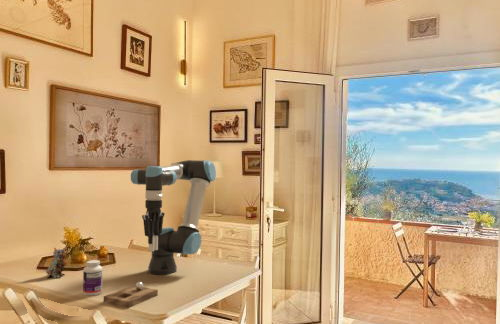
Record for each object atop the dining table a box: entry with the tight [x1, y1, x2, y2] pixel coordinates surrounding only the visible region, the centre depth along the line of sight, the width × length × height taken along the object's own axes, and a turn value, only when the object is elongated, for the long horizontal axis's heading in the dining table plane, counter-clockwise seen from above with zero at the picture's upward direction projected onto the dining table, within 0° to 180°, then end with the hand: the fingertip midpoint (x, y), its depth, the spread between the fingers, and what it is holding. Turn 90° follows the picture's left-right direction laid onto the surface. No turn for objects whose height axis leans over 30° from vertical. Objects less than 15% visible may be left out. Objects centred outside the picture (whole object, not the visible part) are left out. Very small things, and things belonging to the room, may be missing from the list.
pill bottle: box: [82, 259, 103, 296], centre depth 186 cm, size 8×8×14 cm
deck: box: [103, 284, 159, 309], centre depth 180 cm, size 14×18×2 cm
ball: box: [135, 281, 144, 290], centre depth 184 cm, size 4×4×4 cm
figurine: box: [45, 247, 67, 280], centre depth 212 cm, size 9×9×15 cm
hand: (153, 250), depth 192 cm, fingers open, 2 cm apart
